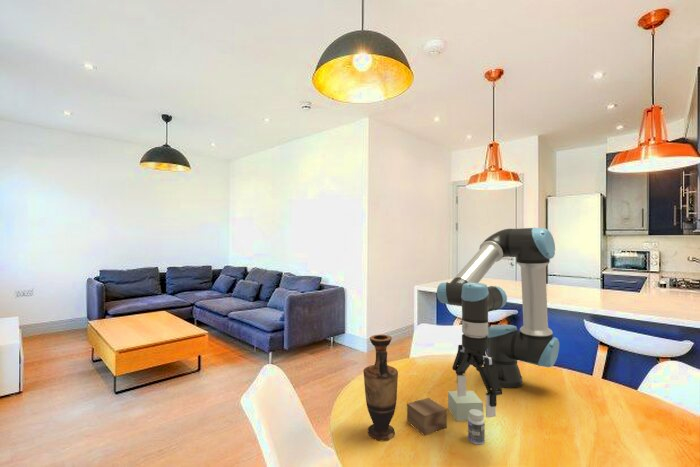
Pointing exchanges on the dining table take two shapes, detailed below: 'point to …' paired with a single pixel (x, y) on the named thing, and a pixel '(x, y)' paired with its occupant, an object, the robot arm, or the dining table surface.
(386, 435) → the vase
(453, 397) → the sage block
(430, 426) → the walnut block
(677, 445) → the dining table surface
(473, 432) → the pill bottle
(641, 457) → the dining table surface
